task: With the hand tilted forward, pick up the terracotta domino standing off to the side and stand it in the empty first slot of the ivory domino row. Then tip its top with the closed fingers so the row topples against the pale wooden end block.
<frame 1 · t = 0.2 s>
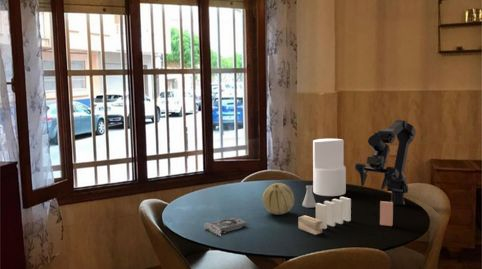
hand: (371, 188, 211), 14 cm above the table, tool tilted 35°, fingers open, 9 cm apart
domino 2: (345, 219, 214), on the table
graphics card: (228, 230, 206), on the table
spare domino: (386, 224, 206), on the table
domino 5: (321, 227, 205), on the table
flask: (309, 206, 236), on the table
domino 3: (337, 222, 211), on the table
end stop: (310, 230, 201), on the table
cantaloupe: (278, 214, 225), on the table
cylinder: (329, 192, 261), on the table
domino 4: (329, 224, 208), on the table
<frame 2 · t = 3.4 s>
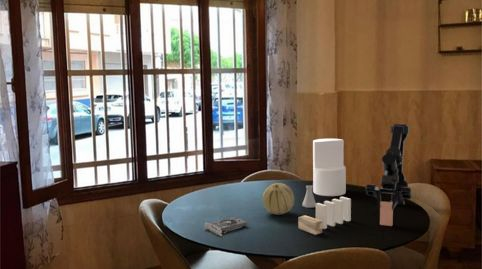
hand: (385, 208, 203), 8 cm above the table, tool tilted 45°, fingers closed on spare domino, 5 cm apart
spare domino: (386, 224, 206), on the table, touching gripper
everything else where it was.
when the fingers open (9 cm above the table, at t = 7.7 s): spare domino stays where it is, on the table.
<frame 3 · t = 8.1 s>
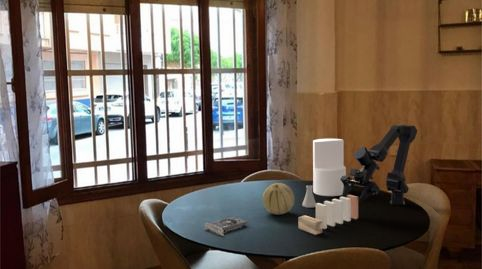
hand: (350, 199, 215), 9 cm above the table, tool tilted 45°, fingers open, 9 cm apart
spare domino: (352, 217, 217), on the table
everything else where it was.
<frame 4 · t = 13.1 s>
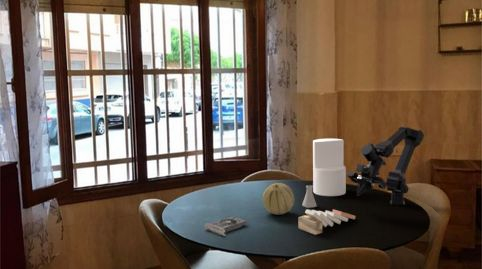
hand: (357, 195, 217), 10 cm above the table, tool tilted 45°, fingers closed
domino 2: (343, 218, 213), point 1 cm above the table, tilted 64°, touching domino 3, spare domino
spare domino: (350, 216, 216), point 1 cm above the table, tilted 67°, touching domino 2
domino 5: (322, 224, 205), point 1 cm above the table, tilted 47°, touching domino 4, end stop
domino 3: (336, 221, 210), point 1 cm above the table, tilted 59°, touching domino 2, domino 4
domino 4: (328, 223, 207), point 1 cm above the table, tilted 50°, touching domino 3, domino 5
everything else where it was.
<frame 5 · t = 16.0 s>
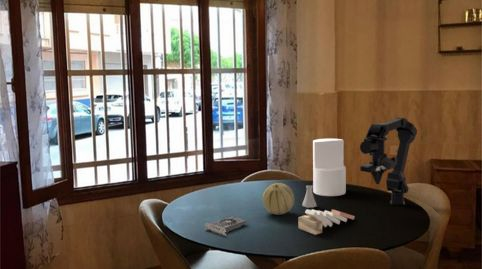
hand: (377, 184, 223), 13 cm above the table, tool pointing down, fingers closed
at the end: domino 5 tilted 47°; domino 5 touching domino 4, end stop; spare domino inside the target area (1.4 cm from its centre), point 0.7 cm above the table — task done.
